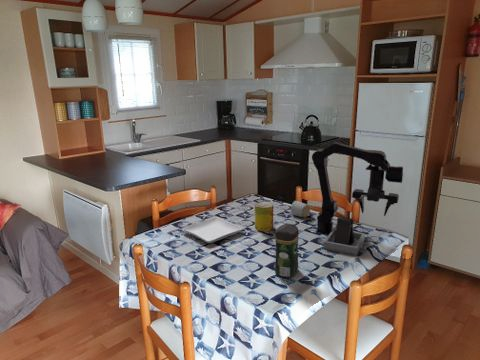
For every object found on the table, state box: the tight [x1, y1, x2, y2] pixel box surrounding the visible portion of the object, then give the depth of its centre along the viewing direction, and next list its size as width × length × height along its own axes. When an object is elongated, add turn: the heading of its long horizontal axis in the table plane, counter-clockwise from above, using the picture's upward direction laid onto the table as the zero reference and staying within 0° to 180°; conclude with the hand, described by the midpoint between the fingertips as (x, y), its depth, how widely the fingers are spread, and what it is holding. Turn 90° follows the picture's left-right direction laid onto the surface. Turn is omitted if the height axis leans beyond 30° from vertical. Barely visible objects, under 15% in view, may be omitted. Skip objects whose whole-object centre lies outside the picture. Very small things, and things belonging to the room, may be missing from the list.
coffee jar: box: [274, 223, 299, 278], centre depth 139 cm, size 10×8×19 cm
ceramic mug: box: [290, 200, 311, 219], centre depth 199 cm, size 11×8×8 cm
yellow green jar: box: [254, 201, 274, 232], centre depth 183 cm, size 9×9×12 cm
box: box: [322, 228, 366, 257], centre depth 163 cm, size 14×16×4 cm
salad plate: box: [182, 216, 244, 244], centre depth 178 cm, size 21×21×3 cm
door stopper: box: [334, 215, 355, 245], centre depth 161 cm, size 9×6×12 cm, turn 142°
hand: (373, 214), depth 165 cm, fingers open, 9 cm apart
